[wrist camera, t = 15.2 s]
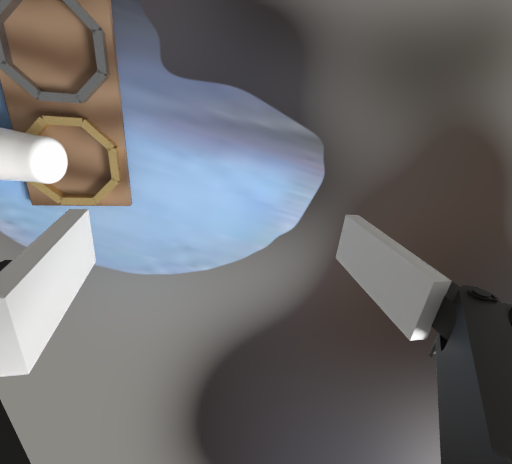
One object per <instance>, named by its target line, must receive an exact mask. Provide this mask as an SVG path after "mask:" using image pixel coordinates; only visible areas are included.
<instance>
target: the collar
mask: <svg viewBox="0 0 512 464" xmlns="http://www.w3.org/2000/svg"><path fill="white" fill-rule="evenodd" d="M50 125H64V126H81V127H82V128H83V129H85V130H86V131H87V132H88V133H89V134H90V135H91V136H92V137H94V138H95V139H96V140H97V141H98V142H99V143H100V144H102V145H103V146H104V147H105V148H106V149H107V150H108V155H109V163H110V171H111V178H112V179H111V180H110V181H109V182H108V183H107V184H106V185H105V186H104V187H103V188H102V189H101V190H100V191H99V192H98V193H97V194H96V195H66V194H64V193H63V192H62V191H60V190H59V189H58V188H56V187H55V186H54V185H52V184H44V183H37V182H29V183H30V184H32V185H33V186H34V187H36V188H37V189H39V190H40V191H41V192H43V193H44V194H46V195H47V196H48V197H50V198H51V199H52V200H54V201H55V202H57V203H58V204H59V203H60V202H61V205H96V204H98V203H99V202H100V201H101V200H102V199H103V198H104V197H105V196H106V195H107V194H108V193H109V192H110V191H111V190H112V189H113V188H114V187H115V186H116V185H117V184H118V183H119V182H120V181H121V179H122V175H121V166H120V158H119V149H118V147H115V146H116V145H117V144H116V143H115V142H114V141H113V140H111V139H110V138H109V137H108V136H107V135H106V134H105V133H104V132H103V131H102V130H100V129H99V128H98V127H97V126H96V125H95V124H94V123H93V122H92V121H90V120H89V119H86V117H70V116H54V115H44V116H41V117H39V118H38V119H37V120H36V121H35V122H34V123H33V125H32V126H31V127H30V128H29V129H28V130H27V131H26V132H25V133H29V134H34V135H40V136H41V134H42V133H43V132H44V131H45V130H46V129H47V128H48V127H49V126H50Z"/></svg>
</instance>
